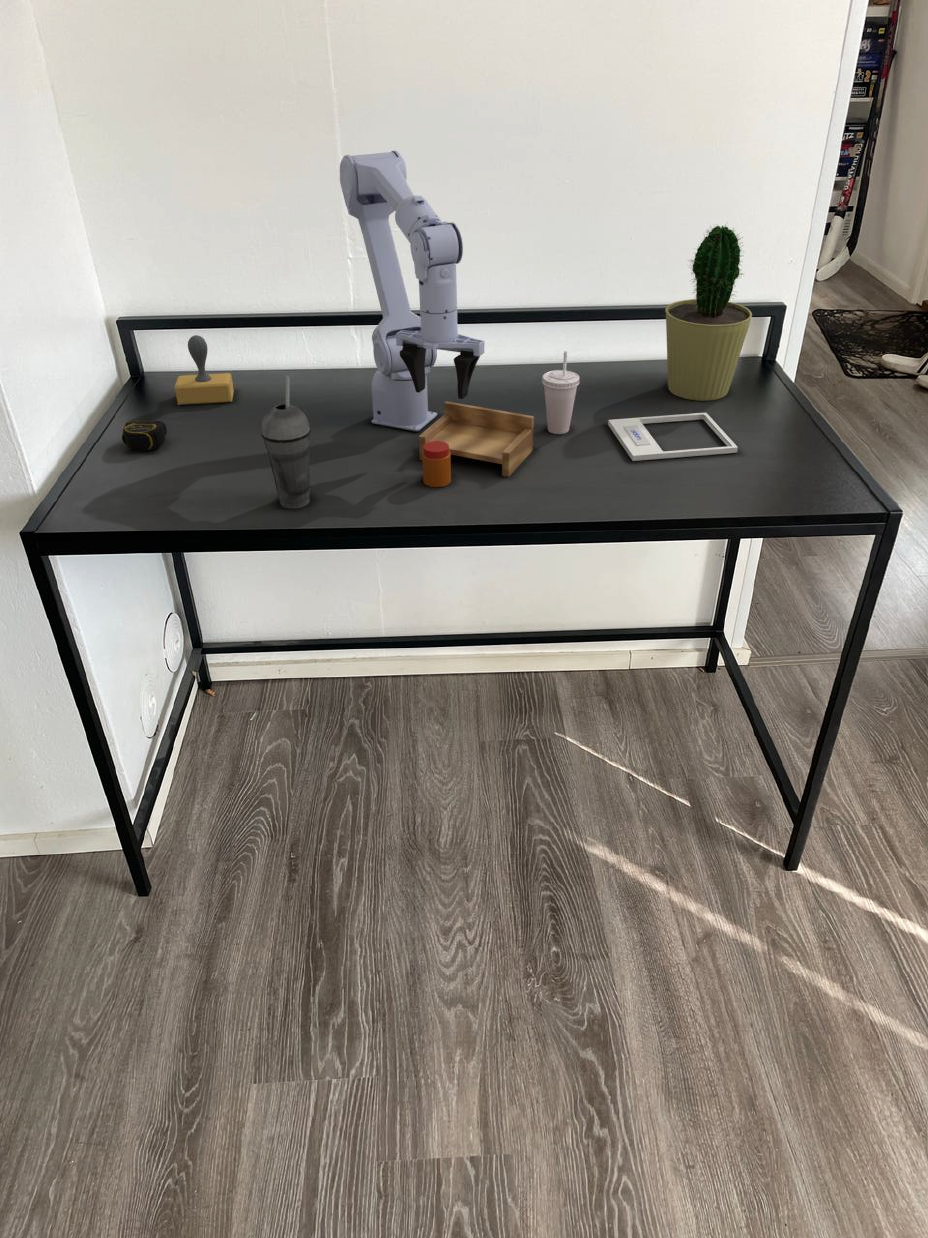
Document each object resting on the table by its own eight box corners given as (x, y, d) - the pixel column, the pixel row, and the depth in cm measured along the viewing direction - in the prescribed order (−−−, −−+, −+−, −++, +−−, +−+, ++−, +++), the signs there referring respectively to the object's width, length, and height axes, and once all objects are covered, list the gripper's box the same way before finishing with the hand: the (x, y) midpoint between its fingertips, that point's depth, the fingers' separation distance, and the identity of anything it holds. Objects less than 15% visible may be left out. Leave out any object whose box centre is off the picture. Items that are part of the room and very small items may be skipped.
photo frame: (608, 418, 167) (706, 411, 169) (608, 424, 167) (705, 417, 169) (633, 454, 155) (738, 446, 157) (632, 460, 155) (737, 452, 158)
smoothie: (574, 438, 163) (579, 359, 155) (537, 435, 164) (540, 357, 156) (578, 423, 168) (583, 346, 160) (542, 420, 169) (545, 343, 161)
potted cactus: (655, 372, 188) (673, 211, 170) (735, 375, 186) (761, 213, 168) (657, 403, 175) (677, 232, 158) (743, 406, 173) (772, 234, 156)
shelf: (419, 459, 157) (418, 424, 153) (447, 434, 165) (446, 401, 161) (508, 477, 151) (509, 441, 148) (532, 450, 159) (534, 416, 156)
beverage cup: (273, 491, 148) (255, 367, 137) (319, 489, 149) (306, 365, 137) (269, 514, 142) (250, 386, 131) (317, 511, 143) (303, 384, 131)
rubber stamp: (234, 390, 182) (224, 329, 175) (231, 402, 177) (221, 339, 170) (181, 393, 181) (169, 331, 174) (177, 405, 176) (165, 342, 169)
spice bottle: (418, 484, 150) (417, 449, 146) (430, 472, 153) (429, 438, 150) (443, 489, 148) (442, 454, 145) (455, 477, 151) (454, 443, 148)
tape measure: (169, 437, 165) (165, 416, 163) (162, 454, 160) (158, 433, 157) (130, 438, 165) (125, 418, 163) (121, 455, 159) (116, 435, 157)
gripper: (384, 310, 145) (390, 395, 153) (470, 321, 140) (472, 408, 147) (405, 298, 150) (410, 381, 158) (489, 307, 145) (490, 393, 153)
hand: (441, 393), depth 153 cm, fingers open, 7 cm apart
